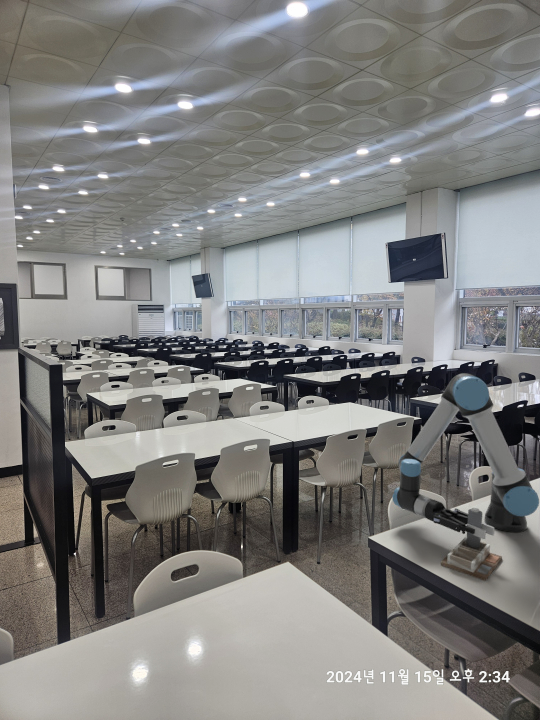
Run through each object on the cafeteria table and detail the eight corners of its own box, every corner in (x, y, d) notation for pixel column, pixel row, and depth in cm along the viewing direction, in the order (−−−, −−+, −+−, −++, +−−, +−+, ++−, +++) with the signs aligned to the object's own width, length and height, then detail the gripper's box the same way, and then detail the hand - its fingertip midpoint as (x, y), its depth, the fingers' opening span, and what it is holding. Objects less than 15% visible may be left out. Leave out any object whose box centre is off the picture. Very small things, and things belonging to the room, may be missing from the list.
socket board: (459, 545, 168) (460, 534, 167) (501, 559, 159) (502, 547, 158) (440, 564, 154) (441, 553, 154) (485, 580, 145) (486, 568, 145)
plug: (468, 541, 163) (470, 505, 162) (481, 545, 160) (484, 509, 159) (464, 545, 160) (466, 509, 159) (477, 550, 157) (480, 513, 156)
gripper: (443, 513, 180) (502, 538, 160) (414, 523, 170) (473, 550, 151) (444, 494, 179) (504, 516, 160) (415, 503, 169) (474, 528, 150)
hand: (489, 533), depth 155 cm, fingers closed on plug, 4 cm apart
